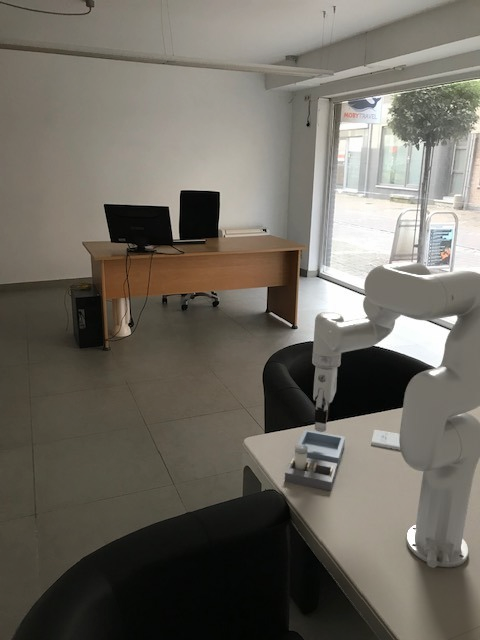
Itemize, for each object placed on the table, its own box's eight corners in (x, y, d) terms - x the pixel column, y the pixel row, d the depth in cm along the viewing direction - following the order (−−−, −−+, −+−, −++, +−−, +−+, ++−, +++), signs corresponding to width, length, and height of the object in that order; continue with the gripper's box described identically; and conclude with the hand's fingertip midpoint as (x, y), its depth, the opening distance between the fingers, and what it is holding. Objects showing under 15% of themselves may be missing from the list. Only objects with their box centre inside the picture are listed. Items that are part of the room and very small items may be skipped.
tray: (337, 467, 143) (338, 458, 142) (294, 459, 146) (295, 449, 145) (344, 446, 154) (345, 436, 153) (304, 438, 157) (304, 429, 156)
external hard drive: (415, 454, 151) (370, 446, 155) (416, 440, 158) (373, 433, 162) (415, 449, 150) (371, 441, 154) (416, 436, 157) (374, 428, 161)
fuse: (304, 478, 138) (306, 451, 135) (292, 476, 139) (294, 449, 136) (307, 472, 141) (308, 445, 138) (295, 469, 142) (296, 443, 139)
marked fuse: (325, 432, 146) (327, 406, 144) (313, 430, 147) (315, 404, 145) (327, 427, 149) (329, 401, 147) (315, 425, 150) (318, 399, 148)
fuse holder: (330, 490, 133) (331, 478, 132) (284, 481, 136) (285, 469, 135) (336, 471, 141) (337, 460, 140) (292, 462, 145) (293, 451, 144)
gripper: (335, 371, 133) (329, 436, 139) (345, 350, 148) (339, 408, 153) (306, 367, 135) (301, 430, 141) (318, 346, 150) (314, 404, 156)
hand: (321, 418), depth 147 cm, fingers closed on marked fuse, 3 cm apart
